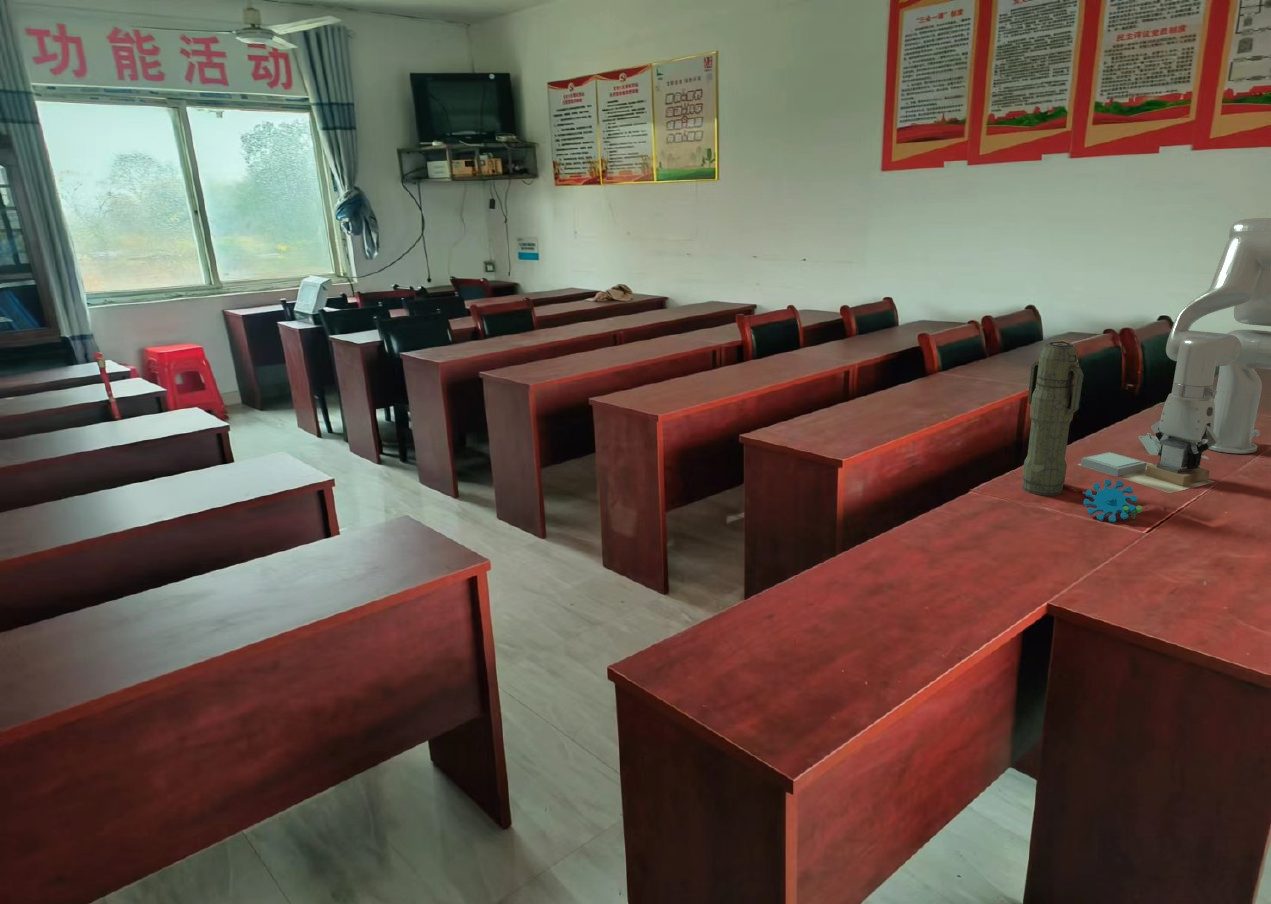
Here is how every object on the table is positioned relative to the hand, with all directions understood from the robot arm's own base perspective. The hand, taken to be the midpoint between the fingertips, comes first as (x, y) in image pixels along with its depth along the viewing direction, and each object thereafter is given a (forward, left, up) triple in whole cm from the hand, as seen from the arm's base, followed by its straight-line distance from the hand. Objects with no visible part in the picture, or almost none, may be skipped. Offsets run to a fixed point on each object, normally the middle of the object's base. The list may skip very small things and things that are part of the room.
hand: (1178, 463), depth 189 cm
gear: (+33, +8, -5) cm, 34 cm away
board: (+3, -6, -5) cm, 8 cm away
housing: (0, 0, -1) cm, 1 cm away
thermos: (+31, -11, -5) cm, 33 cm away
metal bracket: (-18, -14, -5) cm, 24 cm away
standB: (+6, -12, -4) cm, 14 cm away
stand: (0, 0, -4) cm, 4 cm away
